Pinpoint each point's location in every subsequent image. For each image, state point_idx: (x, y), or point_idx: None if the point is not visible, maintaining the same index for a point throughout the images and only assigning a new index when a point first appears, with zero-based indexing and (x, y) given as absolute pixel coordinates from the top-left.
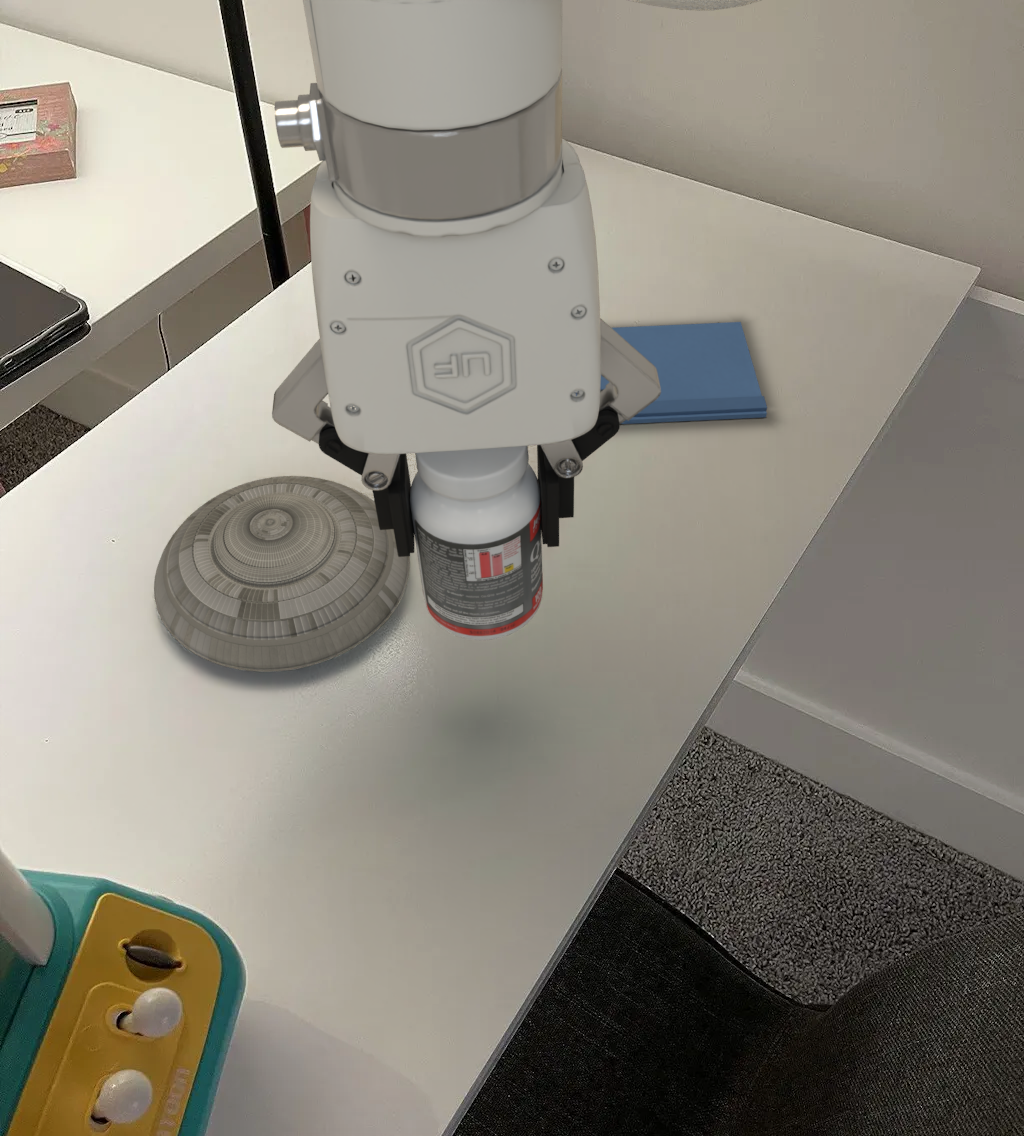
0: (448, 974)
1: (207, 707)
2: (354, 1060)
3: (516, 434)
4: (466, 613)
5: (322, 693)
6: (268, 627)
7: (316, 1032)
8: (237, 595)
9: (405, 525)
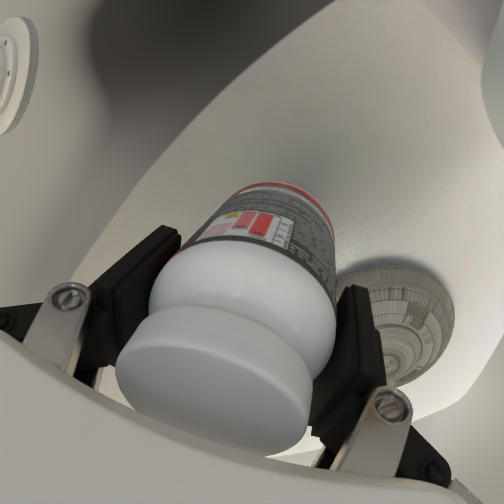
0: (376, 24)
1: (454, 264)
2: (435, 9)
3: (26, 404)
4: (303, 202)
5: (394, 247)
6: (416, 298)
7: (452, 31)
8: (423, 326)
9: (355, 321)
